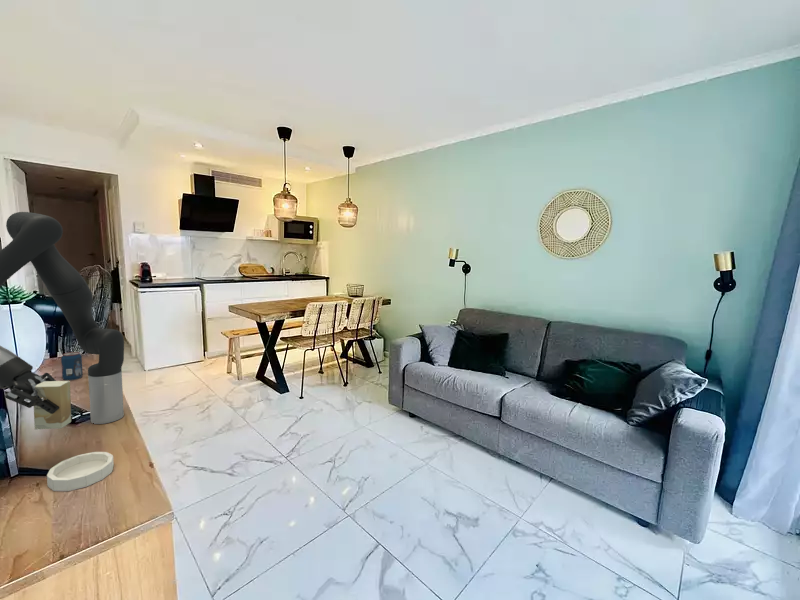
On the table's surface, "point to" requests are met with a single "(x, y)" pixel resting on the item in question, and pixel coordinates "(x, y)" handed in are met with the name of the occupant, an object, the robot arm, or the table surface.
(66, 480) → the ceramic dish
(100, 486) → the table surface
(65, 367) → the blue carton
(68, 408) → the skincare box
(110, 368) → the robot arm
